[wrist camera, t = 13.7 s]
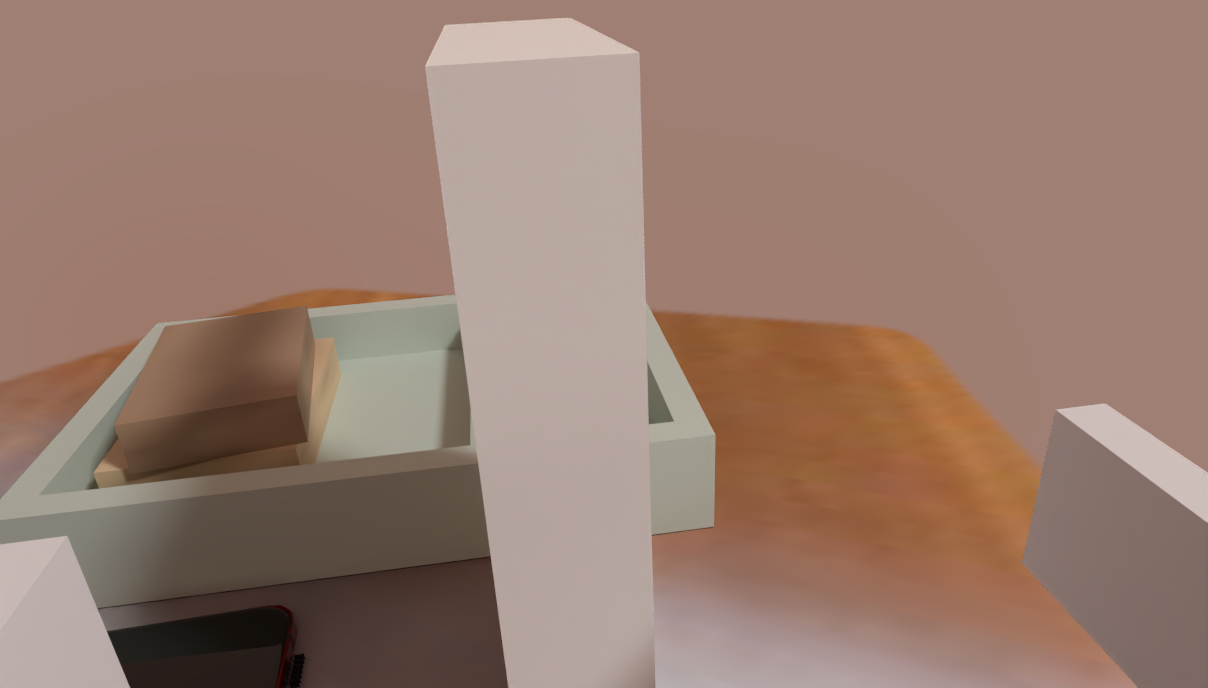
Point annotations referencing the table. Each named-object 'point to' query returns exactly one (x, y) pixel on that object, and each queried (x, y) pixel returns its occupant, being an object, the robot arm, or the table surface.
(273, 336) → the offcut upper
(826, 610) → the table surface
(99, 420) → the tray
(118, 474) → the offcut lower
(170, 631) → the smartphone
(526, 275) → the white rectangular block
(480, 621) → the table surface
